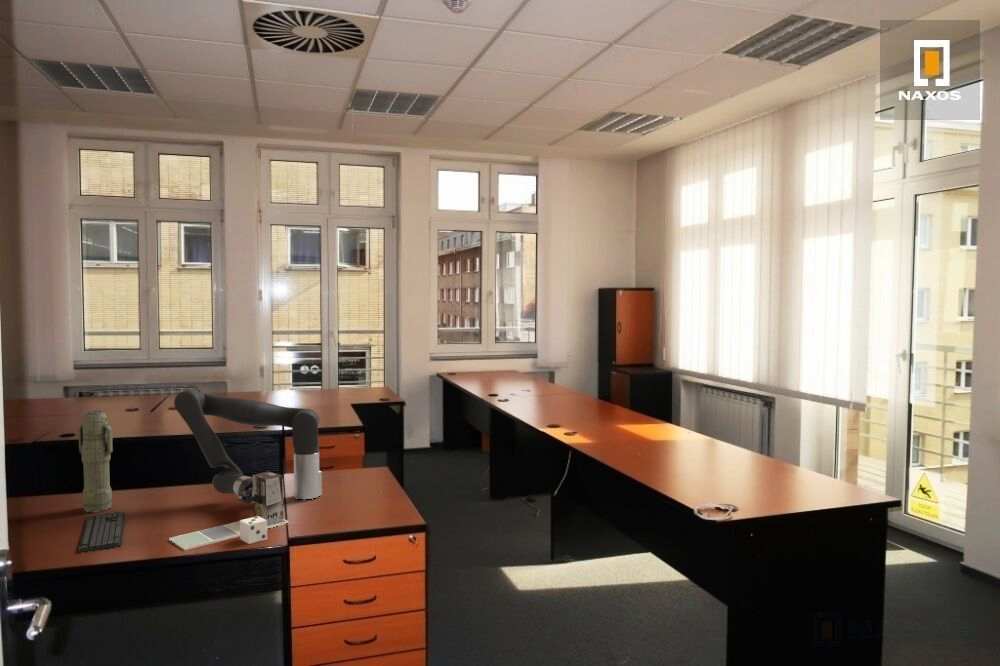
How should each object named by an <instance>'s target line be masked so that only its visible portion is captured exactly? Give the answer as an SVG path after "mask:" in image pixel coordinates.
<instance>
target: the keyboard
mask: <svg viewBox="0 0 1000 666" xmlns="http://www.w3.org/2000/svg"><path fill="white" fill-rule="evenodd" d="M125 517H126V512H125V511H123V510H119V511H118V510H117V511H112V512H111V511H110V512H100V513H96V515H91V516H87V517H86V520H85V523H84V528H83V531H82V534H81V539H80V542H79V546H78V549H77V553H78V554H82V553H81V552H85V553H89V552H88V551H92V552H96V551H95V550H99V551H104V550H103V549H106V550H111V549H110V548H113V549H116V548H115V547H119V548H121V547H120V546H122V545H123V538H122V537H124V529H123V528H124V527H125V520H124V518H125ZM122 547H123V546H122Z"/></svg>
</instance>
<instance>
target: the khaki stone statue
mask: <svg viewBox="0 0 1000 666" xmlns="http://www.w3.org/2000/svg"><path fill="white" fill-rule="evenodd" d="M108 423H109V422H108V417H107V415H106V412H104V411H102V410H90V411H87V412H86V413H84V415H83V419H82V424H80V426H79V427H78V430H77V431H78V451H79V454H81V462H82V464H83V490H82V504H83V512H84V511H88V512H94V511H102V512H104V511H103V510H106V509H109V508H111V506H113V505H112V501H113V494H112V493H113V492H112V487H111V485H110V481H111V480H110V461H111V454H112V453H113V452H114V447H113V439H114V437H113V434H114V433H113V428H112V426H111V424H108ZM111 509H112V508H111ZM109 510H110V509H109ZM106 511H107V510H106Z"/></svg>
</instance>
